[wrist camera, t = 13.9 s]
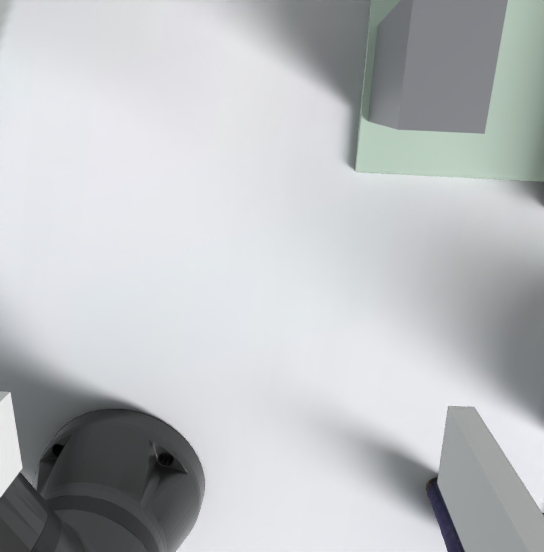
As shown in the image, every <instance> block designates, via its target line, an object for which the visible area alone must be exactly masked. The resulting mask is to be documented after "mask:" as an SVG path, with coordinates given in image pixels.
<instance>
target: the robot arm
mask: <svg viewBox="0 0 544 552" xmlns="http://www.w3.org/2000/svg"><path fill="white" fill-rule="evenodd" d="M21 469H22V461H21V455H20V449H19V443H18V436H17V430H16V424H15V417H14V411H13V405H12V399H11V392H1V391H0V552H176V550H177V549H178V548H179V546H180V545H181V544H182V542H183V541H184V540H185V538H186V537H187V536H188V534H189V533H190V532H191V530H192V528H193V527H194V525H195V523H196V520H197V518H198V515H199V512H200V508H201V504H202V501H203V496H204V491H205V479H204V473H203V469H202V466H201V463H200V461H199V459H198V457H197V455H196V453H195V452H194V450H193V449H192V447H191V446H190V445H189V443H188V442H187V441H186V440H185V439H184V438H183V437H182V436H181V435H180V434H179V433H178V432H176V431H175V430H174V429H172V428H171V427H170V426H168V425H167V424H165V423H163V422H161V421H159V420H158V419H155V418H153V417H151V416H148V415H145V414H142V413H139V412H134V411H129V410H121V409H107V410H99V411H94V412H90V413H87V414H84V415H82V416H79V417H77V418H75V419H74V420H72V421H70V422H69V423H68V424H66V425H65V426H64V427H63V428H62V429H61V430H60V431H59V432H58V433H57V435H56V436H55V437H54V439H53V440H52V441H51V443H50V444H49V445H48V447H47V448H46V450H45V451H44V453H43V455H42V457H41V459H40V461H39V463H38V466H37V470H36V474H35V478H34V482H33V485H31V484H30V483H29V482H28V481H27V479H26V478H25V477H24V476H23V475H22V474H21V473H20V471H21ZM437 484H438V487H439V489H440V492H441V494H442V496H443V499H444V501H445V504H446V506H447V509H448V511H449V514H450V516H451V519H452V521H453V523H454V526H455V528H456V531H457V533H458V536H459V538H460V541H461V543H462V546H463V548H464V551H465V552H544V513H542V512H541V510H540V509H539V507H538V506H537V504H536V503H535V501H534V499H533V498H532V496H531V495H530V493H529V492H528V490H527V489H526V487H525V485H524V484H523V482H522V481H521V479H520V478H519V476H518V475H517V473H516V471H515V470H514V468H513V467H512V465H511V464H510V462H509V460H508V459H507V457H506V456H505V454H504V453H503V451H502V450H501V448H500V446H499V445H498V443H497V442H496V440H495V439H494V437H493V435H492V434H491V432H490V431H489V429H488V428H487V426H486V425H485V423H484V421H483V420H482V418H481V417H480V415H479V414H478V412H477V410H476V409H475V407H461V406H448V411H447V417H446V424H445V431H444V438H443V445H442V452H441V459H440V466H439V473H438V480H437Z"/></svg>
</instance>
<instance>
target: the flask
mask: <svg viewBox="0 0 544 552" xmlns="http://www.w3.org/2000/svg"><path fill="white" fill-rule="evenodd" d="M437 480H438V477H436V478H434V479H432V480H430V481H429V482H428V483H427V484H426V490H427V494H428V497H429V499H430V501H431V504H432V506H433V509H434V511H435V514H436V518H437V521H438V523H439V526H440V529H441V533H442V536H443V539H444V541H445V544H446V547H447V551H448V552H465V551H464V548H463V546H462V543H461V541H460V538H459V536H458V533H457V531H456V528H455V526H454V523H453V521H452V519H451V516H450V514H449V511H448V509H447V506H446V504H445V501H444V499H443V496H442V494H441V492H440V489H439V487H438V484H437Z"/></svg>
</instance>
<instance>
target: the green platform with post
mask: <svg viewBox="0 0 544 552" xmlns="http://www.w3.org/2000/svg"><path fill="white" fill-rule="evenodd" d="M355 172H363V173H382V174H402V175H421V176H440V177H460V178H479V179H498V180H518V181H537V182H544V0H371V4H370V14H369V25H368V35H367V46H366V56H365V67H364V77H363V87H362V98H361V108H360V119H359V129H358V140H357V150H356V161H355Z"/></svg>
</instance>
